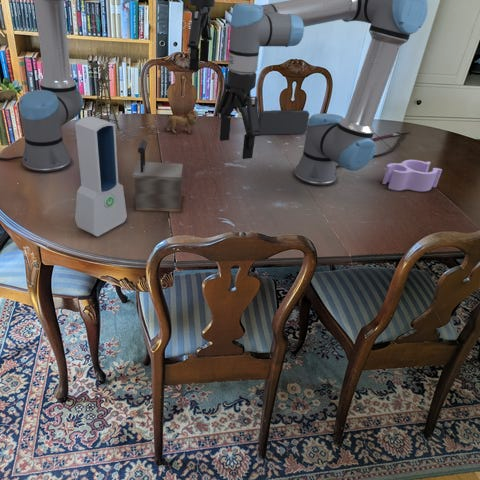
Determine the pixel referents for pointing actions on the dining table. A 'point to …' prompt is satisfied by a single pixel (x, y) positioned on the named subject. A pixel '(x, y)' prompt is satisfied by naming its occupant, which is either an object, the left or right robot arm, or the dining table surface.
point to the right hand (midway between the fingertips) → (235, 148)
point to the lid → (155, 167)
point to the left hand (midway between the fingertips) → (199, 65)
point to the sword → (388, 135)
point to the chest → (158, 194)
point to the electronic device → (98, 177)
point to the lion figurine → (183, 121)
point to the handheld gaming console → (283, 121)
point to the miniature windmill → (102, 81)
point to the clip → (411, 176)
